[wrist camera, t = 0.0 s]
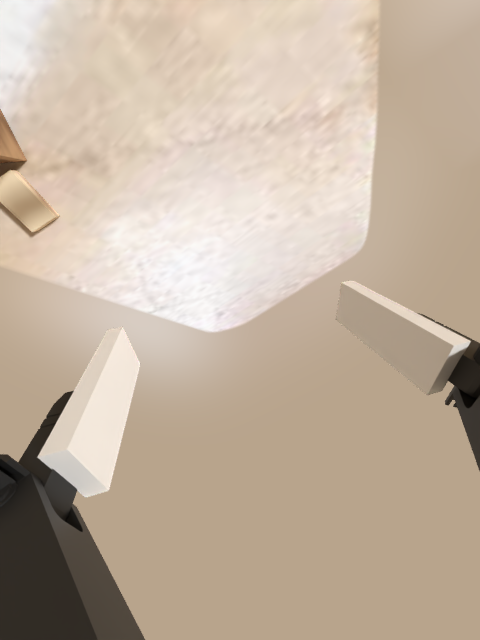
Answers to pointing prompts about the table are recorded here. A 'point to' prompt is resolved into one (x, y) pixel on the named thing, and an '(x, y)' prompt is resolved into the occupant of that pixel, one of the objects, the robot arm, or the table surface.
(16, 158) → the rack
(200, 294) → the table surface
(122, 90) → the table surface
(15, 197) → the offcut
